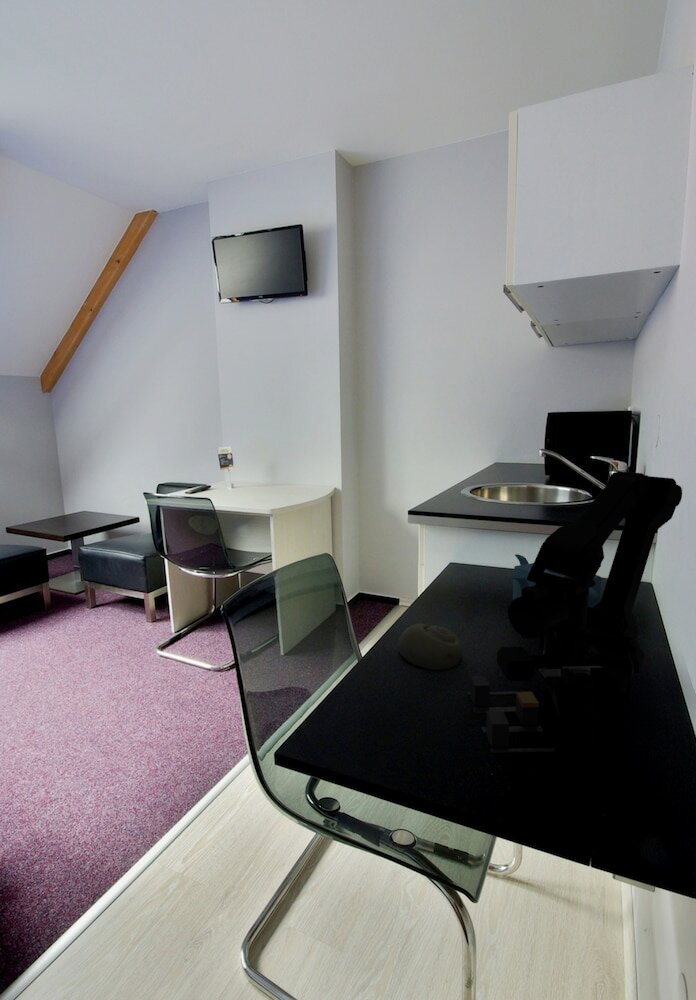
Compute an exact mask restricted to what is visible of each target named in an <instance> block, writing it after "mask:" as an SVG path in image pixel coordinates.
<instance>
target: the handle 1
mask: <svg viewBox="0 0 696 1000" xmlns="http://www.w3.org/2000/svg"><path fill="white" fill-rule="evenodd" d="M469 680H470V682H469V683H470V684H469V685H470V686H469V690H470V691H469V692H470V695H469V697H470V699H471V702H472V704H473V708H475V707H490V696H491V695H490V692H491V690H490V689H491V686H490V683H489V681H488V678H487V677H486V675H470V679H469Z"/></svg>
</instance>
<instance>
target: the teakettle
mask: <svg viewBox="0 0 696 1000" xmlns="http://www.w3.org/2000/svg"><path fill="white" fill-rule="evenodd" d="M514 556H515V557H516V558H517V560H518V562H519V565H515V566H514V569H513V575H512V576H511V579H513V588H512V589H513V591H512V593H513V594H512V601H513V600H514V599H516V598H518V597H520V596H522V589H523V588H525V587H531V586H534V585H536V583H534V582H531V581H528V580H527V577H528V574H529V572H530V570H531V568H532V566H533V563H534V562H531V563H529V562H528V559H527V558H526V557H525V556H523V555H521V554H515V555H514ZM544 572H545V573H549V574H552V575H556V576H560V577H565V575H562V574H558V573H554V572H551V571H548V570H547V569H545V571H544ZM593 580H594V581H595V586H593V587H590V588H589V597H588V607H591V608H592V607H594V606H595V605H596V604H597V603H599V602H600V601H601V591H602V589H601V588H602V576H600V575H597V574H596V575H595V577H594V579H593Z"/></svg>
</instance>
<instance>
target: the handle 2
mask: <svg viewBox="0 0 696 1000" xmlns="http://www.w3.org/2000/svg"><path fill="white" fill-rule="evenodd" d="M485 724H486V725H485V727H486V733H485V735H486V737H487V740H488V742H489V745H490V747H491V749H498V748H509V744H510V740H509V738H510V732H509V726H510V722H509V720H508V718H507V716H506V715H505V712H503V711H494V712H487V713H486V723H485Z"/></svg>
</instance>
